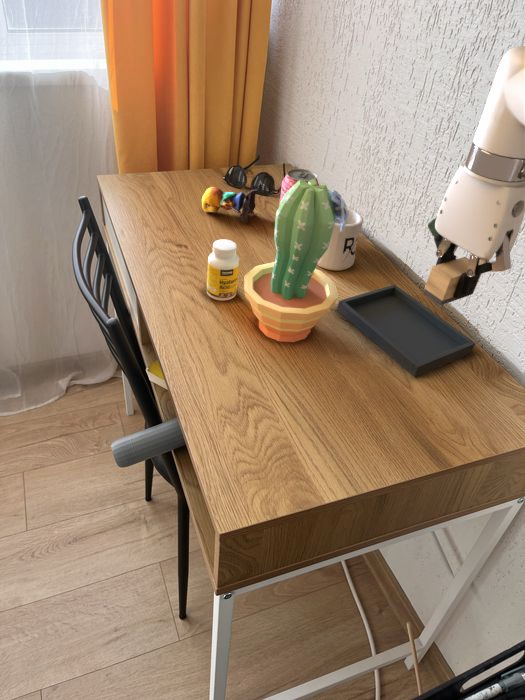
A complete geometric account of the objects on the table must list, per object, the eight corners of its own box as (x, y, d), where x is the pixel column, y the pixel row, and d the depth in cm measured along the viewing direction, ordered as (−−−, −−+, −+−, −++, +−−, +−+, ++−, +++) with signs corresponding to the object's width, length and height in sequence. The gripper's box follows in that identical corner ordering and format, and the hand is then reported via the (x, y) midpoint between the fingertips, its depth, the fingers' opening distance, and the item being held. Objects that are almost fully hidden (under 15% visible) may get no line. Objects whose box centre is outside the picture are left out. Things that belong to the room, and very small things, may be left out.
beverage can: (316, 224, 120) (325, 172, 113) (306, 238, 114) (315, 185, 107) (283, 215, 122) (289, 164, 115) (272, 229, 116) (278, 176, 109)
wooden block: (454, 282, 80) (465, 256, 77) (473, 294, 77) (484, 267, 74) (422, 293, 76) (432, 266, 73) (440, 305, 74) (451, 278, 71)
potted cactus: (322, 364, 82) (356, 215, 66) (228, 342, 84) (238, 192, 68) (335, 310, 94) (366, 173, 78) (251, 292, 96) (265, 155, 80)
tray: (471, 352, 88) (476, 343, 87) (414, 377, 82) (418, 367, 81) (391, 293, 100) (394, 284, 99) (336, 310, 94) (338, 300, 93)
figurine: (198, 213, 119) (199, 187, 115) (214, 202, 124) (215, 176, 120) (243, 227, 116) (246, 201, 112) (258, 215, 121) (260, 189, 117)
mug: (339, 277, 103) (349, 230, 97) (300, 260, 107) (308, 214, 101) (368, 255, 111) (380, 211, 105) (332, 240, 115) (341, 196, 109)
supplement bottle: (218, 305, 92) (220, 255, 86) (200, 290, 95) (201, 241, 89) (242, 296, 95) (247, 247, 88) (224, 282, 98) (227, 234, 92)
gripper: (576, 184, 61) (513, 312, 73) (466, 138, 71) (426, 257, 83) (538, 193, 58) (478, 326, 69) (428, 143, 68) (392, 266, 80)
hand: (450, 287), depth 76 cm, fingers closed on wooden block, 3 cm apart
